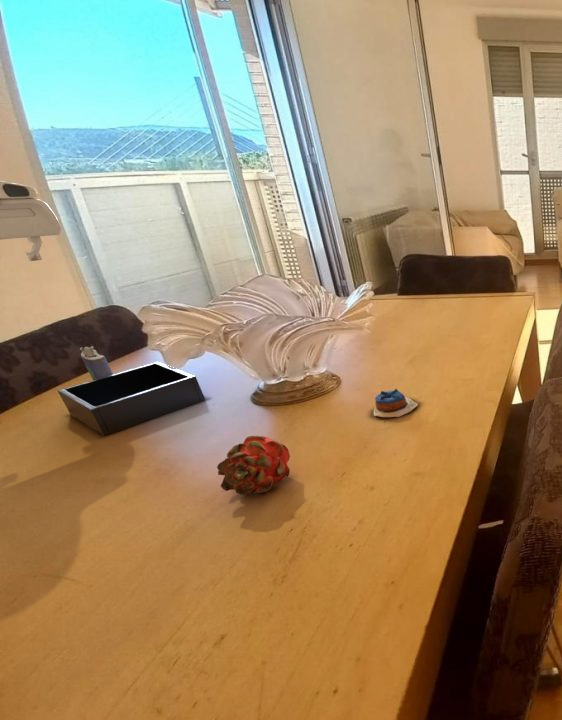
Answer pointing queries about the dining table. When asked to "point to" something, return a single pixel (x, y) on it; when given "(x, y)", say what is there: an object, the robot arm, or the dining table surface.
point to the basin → (131, 397)
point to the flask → (95, 363)
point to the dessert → (392, 404)
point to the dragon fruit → (254, 465)
